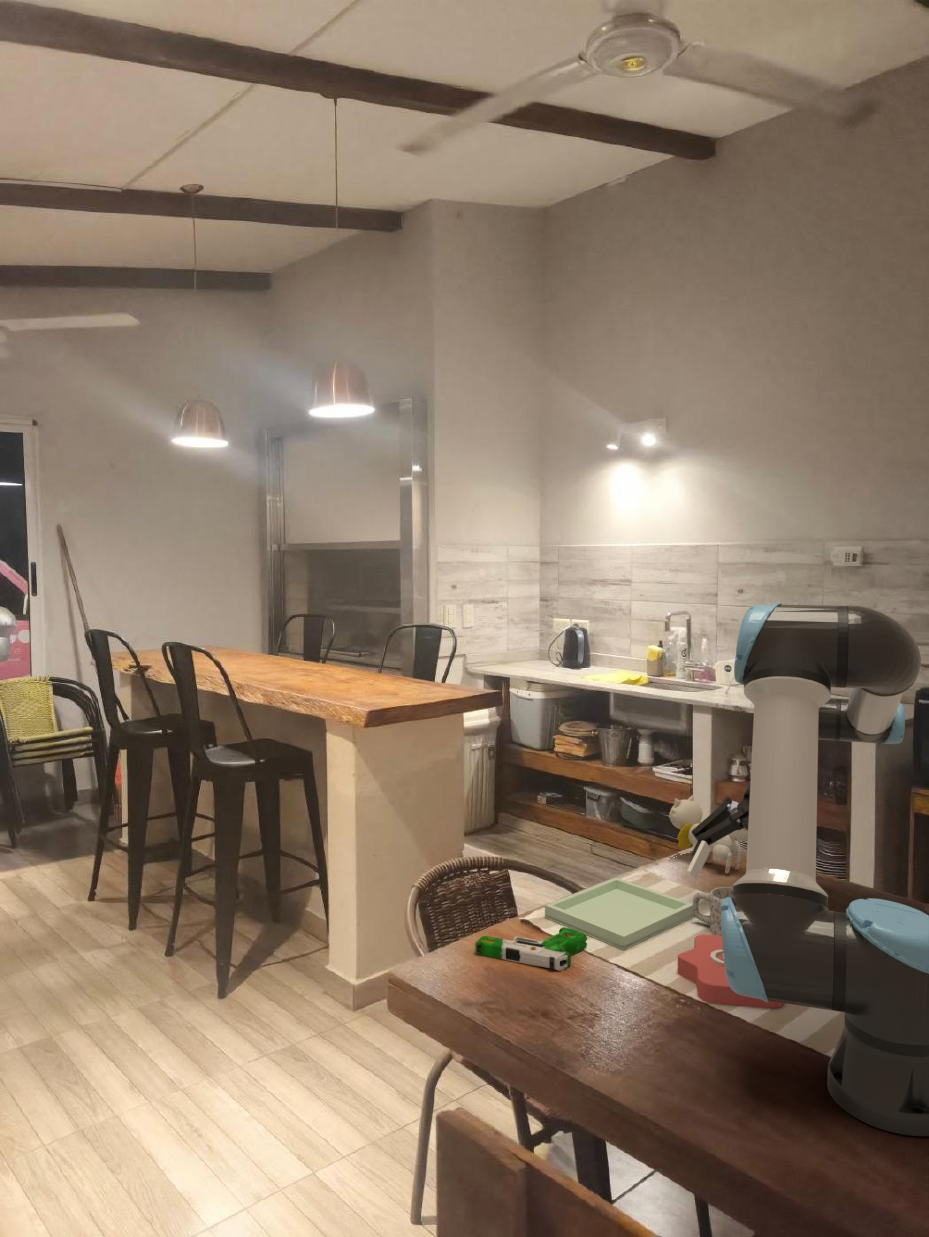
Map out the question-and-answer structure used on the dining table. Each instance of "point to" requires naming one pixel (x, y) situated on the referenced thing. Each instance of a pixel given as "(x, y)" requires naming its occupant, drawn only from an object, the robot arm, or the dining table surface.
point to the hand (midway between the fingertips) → (724, 885)
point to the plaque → (713, 974)
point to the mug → (712, 907)
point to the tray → (619, 912)
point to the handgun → (535, 949)
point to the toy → (689, 817)
